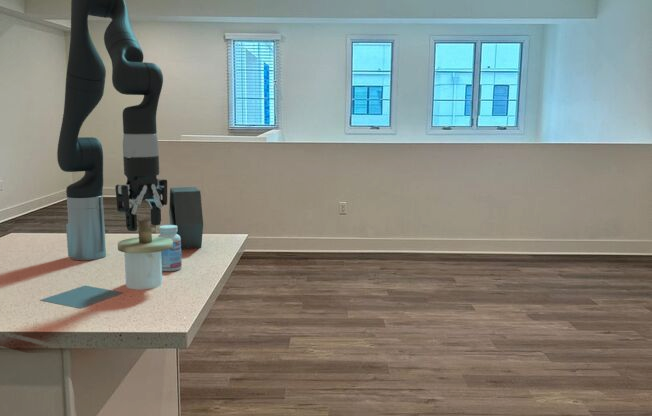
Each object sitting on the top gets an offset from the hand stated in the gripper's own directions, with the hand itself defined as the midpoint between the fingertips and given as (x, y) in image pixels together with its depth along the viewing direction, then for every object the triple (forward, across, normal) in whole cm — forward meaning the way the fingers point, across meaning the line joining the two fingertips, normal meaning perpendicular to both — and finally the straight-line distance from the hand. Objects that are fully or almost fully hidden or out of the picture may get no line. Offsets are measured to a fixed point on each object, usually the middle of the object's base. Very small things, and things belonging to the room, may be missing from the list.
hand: (144, 227), depth 132 cm
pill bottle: (+14, -16, -7) cm, 23 cm away
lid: (+4, 0, 0) cm, 5 cm away
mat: (+14, +12, -7) cm, 20 cm away
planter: (+14, -40, -21) cm, 47 cm away
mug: (+15, 0, 0) cm, 15 cm away
